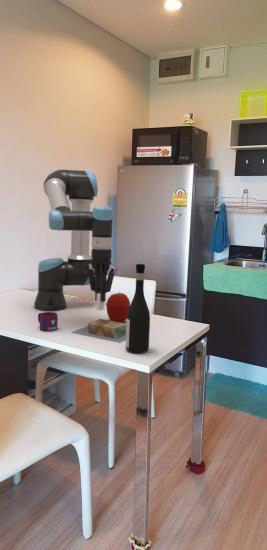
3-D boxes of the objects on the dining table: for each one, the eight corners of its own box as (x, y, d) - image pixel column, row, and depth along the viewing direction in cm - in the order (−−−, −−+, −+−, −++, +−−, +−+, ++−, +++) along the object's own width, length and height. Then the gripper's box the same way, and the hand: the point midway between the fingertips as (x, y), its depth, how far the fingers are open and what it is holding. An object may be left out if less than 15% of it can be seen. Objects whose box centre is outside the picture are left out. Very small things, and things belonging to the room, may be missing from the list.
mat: (70, 333, 164) (70, 332, 164) (91, 325, 176) (91, 324, 176) (120, 344, 154) (120, 342, 154) (138, 335, 166) (138, 333, 166)
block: (88, 323, 163) (115, 328, 158) (100, 318, 170) (126, 323, 165) (88, 333, 164) (115, 338, 158) (99, 328, 171) (125, 333, 165)
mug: (45, 334, 163) (45, 316, 162) (32, 328, 170) (32, 311, 169) (60, 331, 167) (60, 314, 166) (47, 325, 175) (48, 309, 173)
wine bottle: (121, 351, 146) (125, 264, 141) (130, 345, 153) (133, 262, 149) (144, 355, 143) (148, 266, 139) (151, 348, 151) (155, 263, 146)
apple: (119, 318, 190) (120, 287, 188) (134, 323, 183) (135, 291, 181) (100, 321, 183) (101, 289, 181) (116, 327, 176) (117, 293, 174)
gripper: (81, 247, 161) (80, 309, 165) (111, 250, 155) (109, 314, 158) (92, 246, 168) (91, 305, 171) (121, 249, 161) (119, 310, 165)
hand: (100, 309), depth 165 cm, fingers closed
